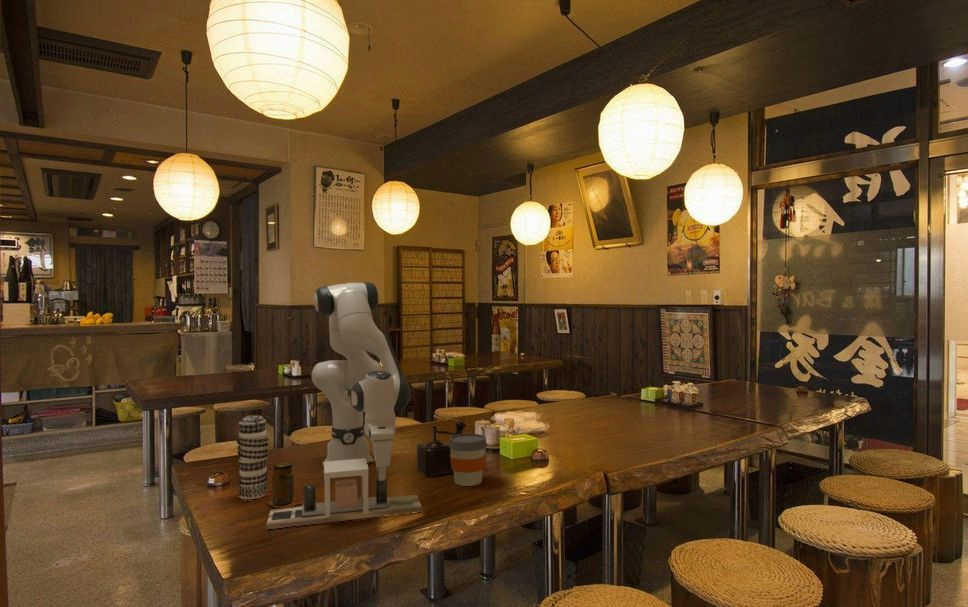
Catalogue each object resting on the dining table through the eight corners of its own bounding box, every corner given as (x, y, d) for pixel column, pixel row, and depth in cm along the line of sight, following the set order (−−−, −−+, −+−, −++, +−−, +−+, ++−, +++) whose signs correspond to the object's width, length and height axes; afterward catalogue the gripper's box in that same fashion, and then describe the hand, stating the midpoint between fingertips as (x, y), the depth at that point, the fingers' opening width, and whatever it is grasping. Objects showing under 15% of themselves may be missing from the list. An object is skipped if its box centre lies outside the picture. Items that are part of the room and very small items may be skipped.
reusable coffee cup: (466, 474, 194) (466, 431, 194) (494, 481, 186) (494, 436, 186) (441, 483, 184) (441, 438, 184) (470, 491, 177) (469, 444, 176)
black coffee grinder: (427, 478, 190) (426, 426, 190) (416, 470, 200) (415, 420, 200) (468, 472, 197) (467, 421, 197) (455, 463, 207) (455, 415, 206)
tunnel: (325, 504, 163) (324, 461, 163) (366, 499, 166) (366, 458, 166) (324, 518, 152) (323, 472, 152) (369, 513, 156) (368, 468, 155)
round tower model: (232, 495, 175) (231, 417, 175) (261, 488, 181) (260, 412, 181) (244, 503, 168) (242, 421, 168) (273, 495, 175) (272, 416, 175)
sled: (303, 507, 159) (302, 483, 159) (387, 498, 166) (387, 475, 166) (302, 516, 153) (301, 491, 153) (389, 506, 159) (389, 482, 159)
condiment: (288, 498, 173) (287, 459, 172) (302, 505, 167) (301, 465, 167) (265, 504, 167) (265, 465, 167) (279, 511, 161) (278, 470, 161)
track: (270, 515, 159) (270, 509, 159) (416, 499, 170) (416, 494, 170) (266, 530, 148) (266, 524, 148) (422, 512, 160) (422, 507, 160)
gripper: (367, 421, 171) (367, 466, 171) (371, 435, 151) (372, 486, 151) (387, 420, 172) (388, 464, 172) (394, 434, 153) (395, 484, 153)
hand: (380, 475), depth 161 cm, fingers open, 8 cm apart
